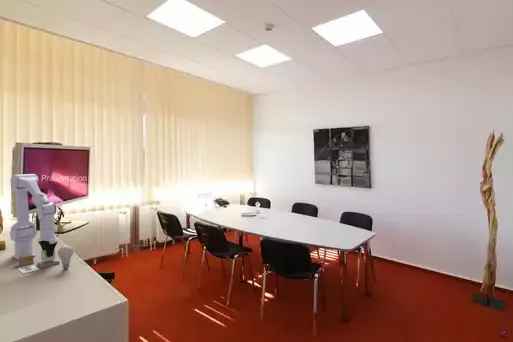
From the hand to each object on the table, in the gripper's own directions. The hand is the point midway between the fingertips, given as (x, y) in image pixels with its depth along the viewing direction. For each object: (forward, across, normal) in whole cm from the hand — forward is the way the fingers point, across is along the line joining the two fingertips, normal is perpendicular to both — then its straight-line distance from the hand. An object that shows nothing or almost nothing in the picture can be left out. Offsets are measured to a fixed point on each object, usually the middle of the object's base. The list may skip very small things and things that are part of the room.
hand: (48, 255), depth 138 cm
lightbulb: (+4, +14, +3) cm, 15 cm away
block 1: (+4, -9, -6) cm, 12 cm away
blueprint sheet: (+4, 0, -8) cm, 9 cm away
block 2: (+2, 0, 0) cm, 2 cm away
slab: (+4, 0, 0) cm, 4 cm away
